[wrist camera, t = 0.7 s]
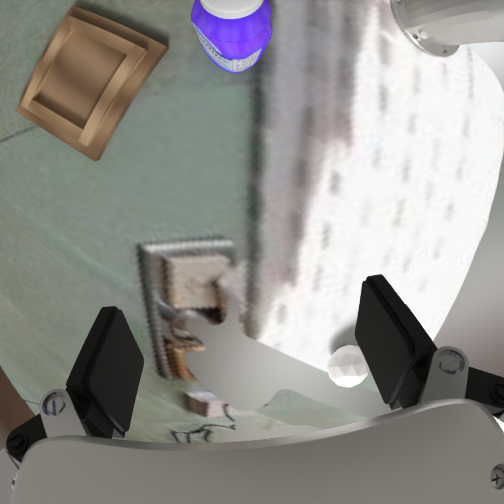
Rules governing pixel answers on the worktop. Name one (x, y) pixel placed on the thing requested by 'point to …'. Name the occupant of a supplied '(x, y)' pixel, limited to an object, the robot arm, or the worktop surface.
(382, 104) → the worktop surface
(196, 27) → the bottle
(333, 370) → the geometric ball
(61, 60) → the walnut base
